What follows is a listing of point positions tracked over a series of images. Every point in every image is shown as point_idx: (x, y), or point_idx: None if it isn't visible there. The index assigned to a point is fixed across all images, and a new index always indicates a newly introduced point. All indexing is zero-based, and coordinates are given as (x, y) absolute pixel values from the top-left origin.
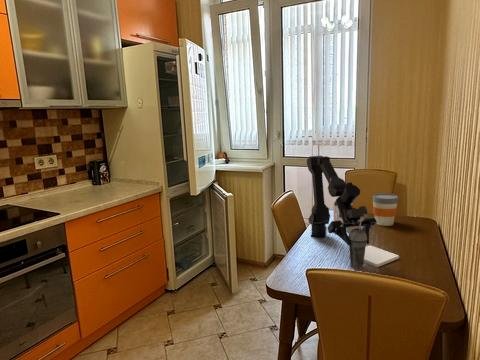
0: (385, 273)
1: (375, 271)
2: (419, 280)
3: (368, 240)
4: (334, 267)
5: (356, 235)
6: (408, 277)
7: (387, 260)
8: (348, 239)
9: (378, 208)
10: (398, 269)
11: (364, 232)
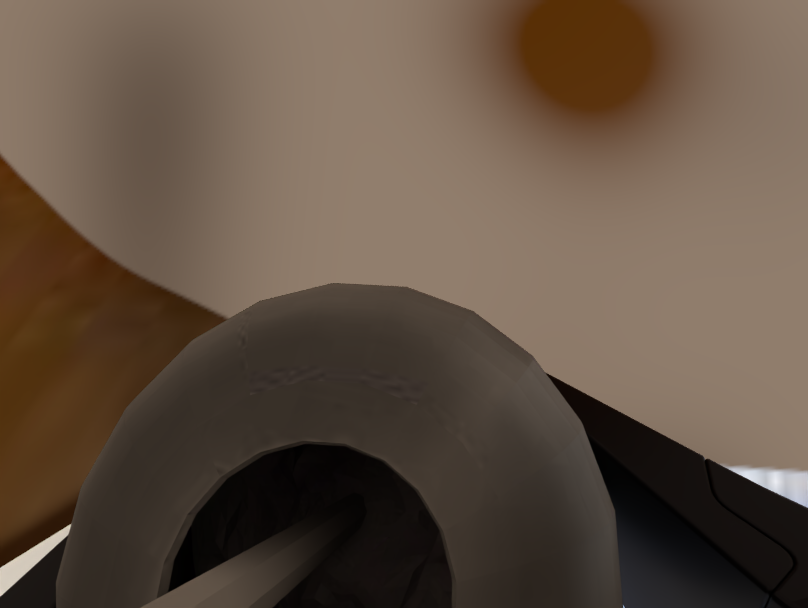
0: (201, 323)
1: None
2: (28, 209)
3: None
4: None
5: (452, 313)
6: (71, 253)
7: (41, 542)
8: (606, 427)
9: None
10: (53, 389)
11: (118, 432)
